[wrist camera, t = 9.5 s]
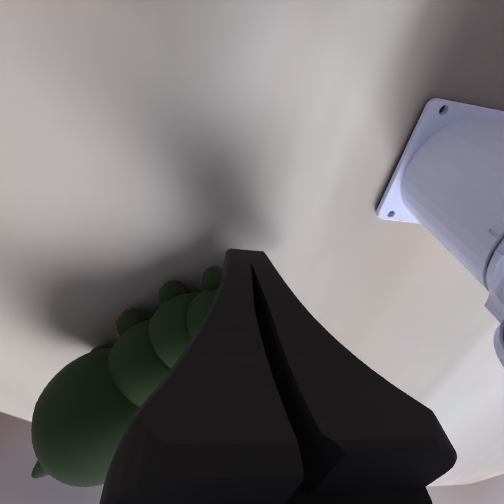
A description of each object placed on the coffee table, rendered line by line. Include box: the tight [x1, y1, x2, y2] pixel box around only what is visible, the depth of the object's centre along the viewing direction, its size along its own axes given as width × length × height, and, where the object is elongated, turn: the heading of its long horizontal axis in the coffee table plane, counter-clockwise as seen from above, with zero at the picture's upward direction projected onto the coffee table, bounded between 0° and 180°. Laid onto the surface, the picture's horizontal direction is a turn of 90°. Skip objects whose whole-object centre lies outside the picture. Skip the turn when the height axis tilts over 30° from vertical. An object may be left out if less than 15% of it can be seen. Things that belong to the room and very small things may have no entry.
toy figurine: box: [31, 266, 223, 487], centre depth 20 cm, size 9×19×25 cm
